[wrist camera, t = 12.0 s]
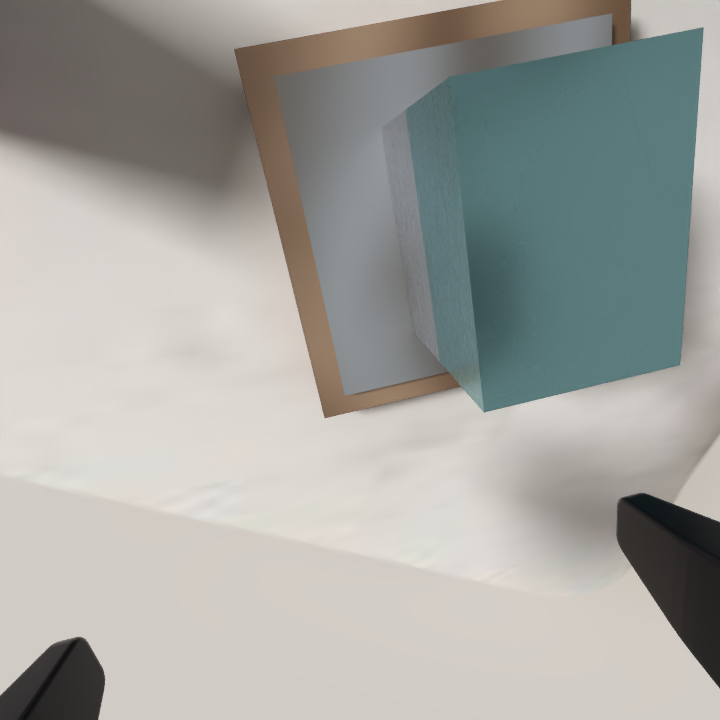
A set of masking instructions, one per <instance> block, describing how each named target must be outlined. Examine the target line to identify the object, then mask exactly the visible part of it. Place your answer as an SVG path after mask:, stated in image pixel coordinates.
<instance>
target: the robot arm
mask: <svg viewBox="0 0 720 720" xmlns="http://www.w3.org/2000/svg"><path fill="white" fill-rule="evenodd" d="M616 534H617V540H618V543H619V546H620V548H621V550H622V551H623V553H624V554H625V556H626V557H627V559H628V560H629V562H630V563H631V565H632V567H633V568H634V570H635V571H636V572H637V574H638V576H639V577H640V579H641V580H642V582H643V583H644V585H645V586H646V588H647V589H648V591H649V592H650V594H651V595H652V597H653V598H654V600H655V601H656V603H657V604H658V606H659V607H660V609H661V610H662V612H663V613H664V615H665V616H666V618H667V620H668V621H669V623H670V624H671V625H672V627H673V628H674V630H675V631H676V633H677V634H678V636H679V637H680V638H681V639H682V641H683V642H684V643H685V645H686V646H687V647H688V649H689V650H690V651H691V653H692V654H693V655H694V657H695V658H696V659H697V660H698V662H699V663H700V664H701V665H702V667H703V668H704V669H705V670H706V672H707V673H708V674H709V675H710V677H711V678H712V679H713V680H714V682H715V683H716V684H717V685H718V687H719V688H720V522H718V521H716V520H713V519H710V518H708V517H705V516H703V515H700V514H697V513H695V512H692V511H690V510H687V509H684V508H682V507H679V506H677V505H674V504H672V503H669V502H667V501H664V500H661V499H659V498H656V497H654V496H651V495H648V494H645V493H638V494H634V495H630V496H626V497H622V498H621V499H619V501H618V503H617V533H616ZM104 686H105V675H104V671H103V668H102V666H101V665H100V663H99V661H98V659H97V658H96V656H95V654H94V652H93V651H92V649H91V647H90V645H89V644H88V642H87V641H86V639H84V638H82V637H75V638H71V639H67V640H63V641H60V642H57V643H54V644H53V645H51V646H50V647H49V648H48V649H47V650H46V651H45V652H44V653H43V654H42V655H41V656H40V657H39V658H38V659H37V660H36V661H35V662H34V663H33V664H32V665H31V666H30V667H29V668H28V669H27V670H26V671H25V672H24V673H23V674H22V675H21V676H20V677H19V678H18V679H17V680H16V681H15V682H14V683H13V684H12V685H11V686H10V687H9V688H8V689H7V690H6V691H5V692H3V694H1V695H0V720H98V717H99V713H100V707H101V702H102V697H103V692H104Z"/></svg>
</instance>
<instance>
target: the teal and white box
mask: <svg viewBox="0 0 720 720" xmlns="http://www.w3.org/2000/svg"><path fill="white" fill-rule="evenodd" d="M702 41H703V28H698V29H693V30H688V31H683V32H678V33H673V34H667V35H662V36H657V37H652V38H647V39H642V40H637V41H631V42H626V43H621V44H616V45H611V46H606V47H601V48H595V49H590V50H585V51H580V52H575V53H570V54H564V55H559V56H554V57H549V58H544V59H539V60H534V61H528V62H523V63H518V64H513V65H508V66H503V67H498V68H492V69H487V70H482V71H477V72H472V73H467V74H462V75H456V76H451V77H448V78H447V79H446V80H444V81H443V82H442V83H440V84H439V85H438V86H436V87H435V88H434V89H432V90H431V91H430V92H428V93H427V94H426V95H424V96H423V97H422V98H420V99H419V100H418V101H416V102H415V103H414V104H412V105H411V106H410V107H408V108H407V109H406V110H404V111H403V112H402V113H401V114H399V115H398V116H397V117H395V118H394V119H393V120H391V121H390V122H389V123H387V124H386V125H385V126H383V127H382V128H381V134H382V140H383V146H384V153H385V159H386V166H387V172H388V178H389V185H390V191H391V197H392V204H393V210H394V217H395V223H396V229H397V236H398V242H399V248H400V255H401V261H402V267H403V274H404V280H405V287H406V293H407V299H408V306H409V312H410V318H411V325H412V331H413V332H414V333H415V334H416V335H417V336H418V337H419V339H420V340H421V341H422V342H423V343H424V344H425V345H426V347H427V348H428V349H429V350H430V351H431V352H432V353H433V355H434V356H435V357H436V358H437V359H438V360H439V361H440V363H441V364H442V365H443V366H444V367H445V368H446V370H447V371H448V372H449V373H450V374H451V375H452V376H453V378H454V379H455V380H456V381H457V382H458V383H459V384H460V386H461V387H462V388H463V389H464V390H465V391H466V392H467V394H468V395H469V396H470V397H471V398H472V399H473V400H474V402H475V403H476V404H477V405H478V406H479V407H480V408H481V410H482V411H483V412H488V411H492V410H496V409H500V408H504V407H508V406H512V405H517V404H521V403H525V402H529V401H533V400H537V399H541V398H546V397H550V396H554V395H558V394H562V393H566V392H570V391H574V390H579V389H583V388H587V387H591V386H595V385H599V384H603V383H608V382H612V381H616V380H620V379H624V378H628V377H632V376H637V375H641V374H645V373H649V372H653V371H657V370H661V369H666V368H670V367H674V366H678V365H680V359H681V345H682V330H683V316H684V301H685V287H686V272H687V258H688V244H689V229H690V215H691V200H692V186H693V171H694V157H695V142H696V128H697V114H698V99H699V85H700V70H701V56H702Z"/></svg>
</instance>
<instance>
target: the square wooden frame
mask: <svg viewBox="0 0 720 720" xmlns="http://www.w3.org/2000/svg"><path fill="white" fill-rule="evenodd" d="M630 26H631V0H502V1H497V2H491V3H486V4H480V5H475V6H469V7H464V8H458V9H453V10H447V11H442V12H436V13H431V14H425V15H420V16H414V17H409V18H403V19H398V20H392V21H387V22H381V23H376V24H370V25H365V26H359V27H354V28H348V29H343V30H337V31H332V32H326V33H321V34H315V35H310V36H304V37H299V38H294V39H288V40H283V41H277V42H272V43H266V44H261V45H255V46H250V47H244V48H239V49H234V51H235V55H236V59H237V63H238V67H239V71H240V76H241V80H242V84H243V88H244V92H245V96H246V100H247V104H248V108H249V112H250V116H251V120H252V124H253V128H254V132H255V137H256V141H257V145H258V149H259V153H260V157H261V161H262V165H263V169H264V173H265V177H266V181H267V185H268V189H269V193H270V198H271V202H272V206H273V210H274V214H275V218H276V222H277V226H278V230H279V234H280V238H281V242H282V246H283V250H284V254H285V259H286V263H287V267H288V271H289V275H290V279H291V283H292V287H293V291H294V295H295V299H296V303H297V307H298V311H299V315H300V320H301V324H302V328H303V332H304V336H305V340H306V344H307V348H308V352H309V356H310V360H311V364H312V368H313V372H314V377H315V381H316V385H317V389H318V393H319V397H320V401H321V405H322V409H323V413H324V417H325V418H328V417H332V416H336V415H340V414H345V413H349V412H353V411H357V410H362V409H366V408H370V407H374V406H379V405H383V404H387V403H391V402H396V401H400V400H404V399H408V398H413V397H417V396H421V395H425V394H430V393H434V392H438V391H442V390H447V389H451V388H455V387H459V386H460V384H459V383H458V382H457V381H456V380H455V379H454V378H453V376H452V375H451V374H450V373H449V372H448V371H447V370H446V368H445V367H444V366H443V365H442V364H441V363H440V361H439V360H438V359H437V358H436V357H435V356H434V355H433V353H432V352H431V351H430V350H429V349H428V348H427V347H426V345H425V344H424V343H423V342H422V341H421V340H420V339H419V337H418V336H417V335H416V334H415V333H414V332H413V331H412V325H411V318H410V312H409V306H408V299H407V293H406V287H405V280H404V274H403V267H402V261H401V255H400V248H399V242H398V236H397V229H396V223H395V217H394V210H393V204H392V197H391V191H390V185H389V178H388V172H387V166H386V159H385V153H384V146H383V140H382V134H381V128H382V127H383V126H385V125H386V124H387V123H389V122H390V121H391V120H393V119H394V118H395V117H397V116H398V115H399V114H401V113H402V112H403V111H404V110H406V109H407V108H408V107H410V106H411V105H412V104H414V103H415V102H416V101H418V100H419V99H420V98H422V97H423V96H424V95H426V94H427V93H428V92H430V91H431V90H432V89H434V88H435V87H436V86H438V85H439V84H440V83H442V82H443V81H444V80H446V79H447V78H448V77H451V76H456V75H462V74H467V73H472V72H477V71H482V70H487V69H492V68H498V67H503V66H508V65H513V64H518V63H523V62H528V61H534V60H539V59H544V58H549V57H554V56H559V55H564V54H570V53H575V52H580V51H585V50H590V49H595V48H601V47H606V46H611V45H616V44H621V43H626V42H630Z"/></svg>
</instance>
